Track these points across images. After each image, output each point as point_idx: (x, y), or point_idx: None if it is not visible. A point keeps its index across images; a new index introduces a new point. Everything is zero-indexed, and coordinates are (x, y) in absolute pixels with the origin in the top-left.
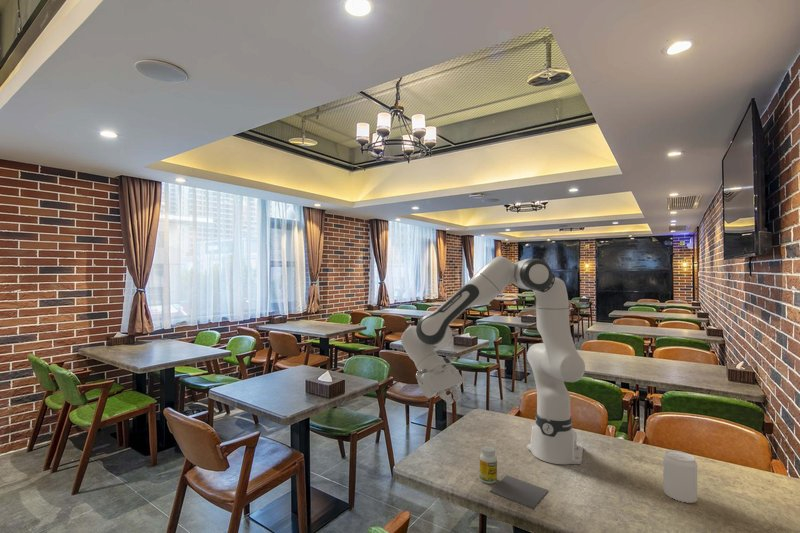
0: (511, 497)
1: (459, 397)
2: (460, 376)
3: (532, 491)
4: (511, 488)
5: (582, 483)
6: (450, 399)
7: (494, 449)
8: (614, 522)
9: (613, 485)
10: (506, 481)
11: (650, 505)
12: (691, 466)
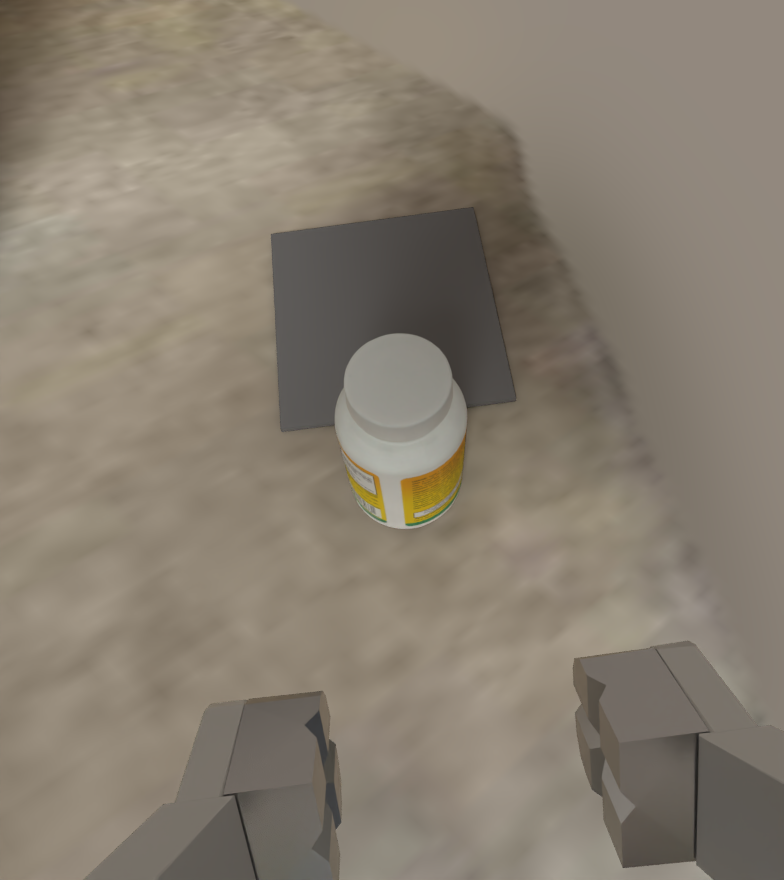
0: (477, 300)
1: (254, 707)
2: None
3: (341, 268)
4: None
5: (86, 182)
6: (694, 684)
7: (371, 342)
8: (312, 36)
9: (20, 112)
10: None
11: (102, 11)
12: None
